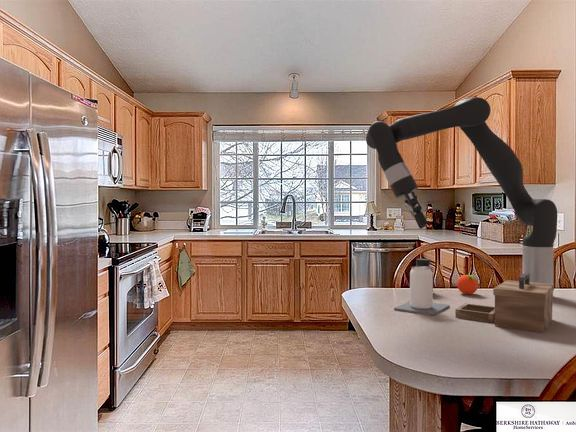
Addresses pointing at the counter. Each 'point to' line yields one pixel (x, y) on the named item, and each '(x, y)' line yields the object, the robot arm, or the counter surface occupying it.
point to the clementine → (467, 284)
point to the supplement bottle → (423, 263)
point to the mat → (433, 311)
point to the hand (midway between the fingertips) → (423, 226)
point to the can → (421, 287)
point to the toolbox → (515, 306)
